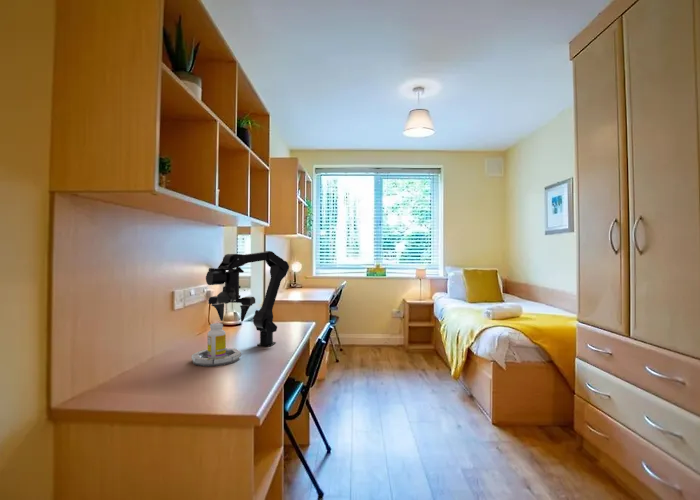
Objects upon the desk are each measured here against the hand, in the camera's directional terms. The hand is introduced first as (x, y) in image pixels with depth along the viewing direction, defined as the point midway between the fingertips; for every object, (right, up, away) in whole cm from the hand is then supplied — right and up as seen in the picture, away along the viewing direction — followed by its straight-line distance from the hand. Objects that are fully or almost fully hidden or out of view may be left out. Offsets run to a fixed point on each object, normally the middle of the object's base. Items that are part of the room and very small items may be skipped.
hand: (231, 321), depth 159 cm
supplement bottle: (-2, -12, -12) cm, 17 cm away
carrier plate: (-2, -13, -12) cm, 18 cm away
